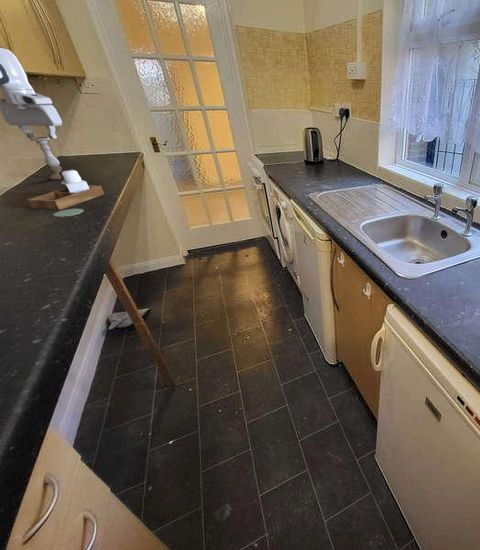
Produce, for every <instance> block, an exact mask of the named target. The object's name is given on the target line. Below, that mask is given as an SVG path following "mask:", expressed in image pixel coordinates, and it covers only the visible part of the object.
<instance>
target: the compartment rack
mask: <svg viewBox="0 0 480 550" xmlns="http://www.w3.org/2000/svg"><path fill="white" fill-rule="evenodd" d="M88 187H89V189H87V190H84V191H81V192H65V190H64V188H60V189H57V190H54V191H51V192H47V193H44V194H41V195H38V196H37V195H36V196H34V197H30V198H27V199H25V202H26V204H27V206H28V207H29V208H30V209H39V210H55V211H56V210H57V211H62V210H66V209H67V208H71V207H74V206H76V205H78V204H81V203H84V202H87V201H90V200H92V199H95V198H98V197H100V196H103V195H105V192H104V190H103V187H102V186H101V185H88Z"/></svg>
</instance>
